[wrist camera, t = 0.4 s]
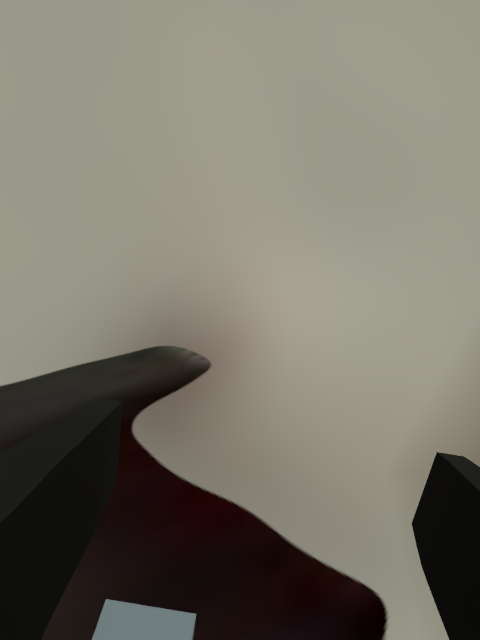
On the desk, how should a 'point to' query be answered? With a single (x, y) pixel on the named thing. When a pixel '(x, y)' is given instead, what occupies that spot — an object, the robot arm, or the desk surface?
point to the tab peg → (143, 623)
